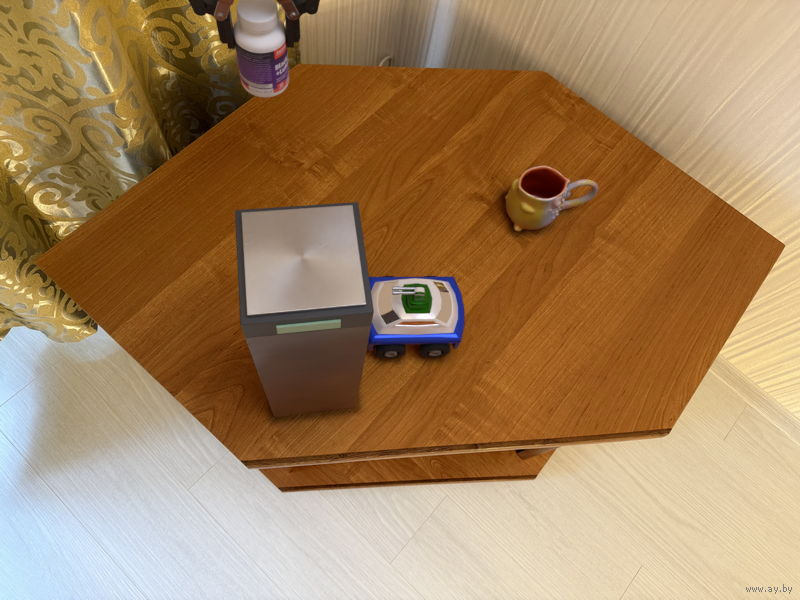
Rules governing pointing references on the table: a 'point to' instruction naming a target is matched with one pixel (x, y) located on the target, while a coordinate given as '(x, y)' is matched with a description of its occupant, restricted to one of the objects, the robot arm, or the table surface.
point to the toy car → (415, 315)
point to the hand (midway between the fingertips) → (260, 41)
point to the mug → (542, 197)
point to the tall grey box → (305, 303)
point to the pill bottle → (261, 48)
